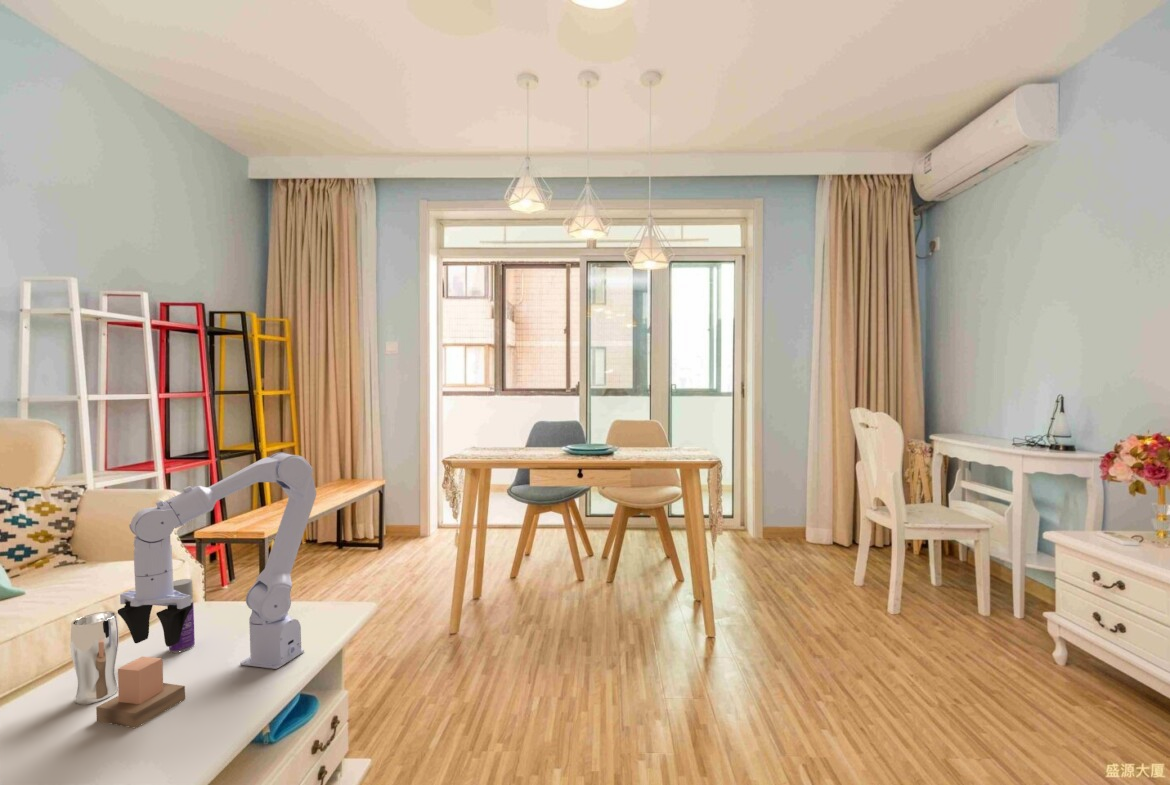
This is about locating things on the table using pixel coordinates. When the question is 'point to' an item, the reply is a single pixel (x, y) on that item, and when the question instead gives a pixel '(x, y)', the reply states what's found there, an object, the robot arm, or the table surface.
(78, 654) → the beer glass
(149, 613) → the robot arm
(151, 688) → the terracotta block
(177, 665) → the table surface
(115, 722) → the walnut base
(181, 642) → the container
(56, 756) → the table surface
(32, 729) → the table surface
